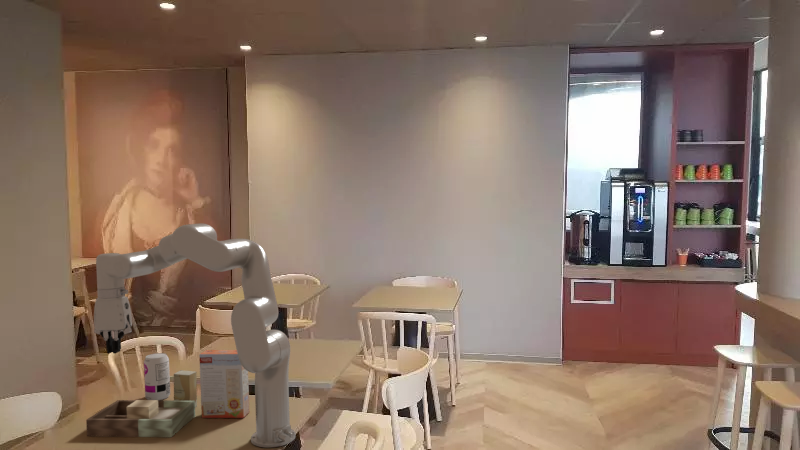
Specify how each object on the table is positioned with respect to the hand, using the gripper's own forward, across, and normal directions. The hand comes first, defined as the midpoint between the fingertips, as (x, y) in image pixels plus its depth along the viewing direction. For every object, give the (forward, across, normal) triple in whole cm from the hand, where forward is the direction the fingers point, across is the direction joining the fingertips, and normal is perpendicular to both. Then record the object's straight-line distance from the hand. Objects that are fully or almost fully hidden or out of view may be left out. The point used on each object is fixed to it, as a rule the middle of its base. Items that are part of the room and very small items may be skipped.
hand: (113, 352), depth 185 cm
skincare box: (+23, -15, -15) cm, 32 cm away
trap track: (+23, -8, 0) cm, 25 cm away
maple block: (+20, -8, 0) cm, 22 cm away
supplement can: (+23, 0, -26) cm, 35 cm away
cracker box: (+23, -31, -9) cm, 40 cm away
